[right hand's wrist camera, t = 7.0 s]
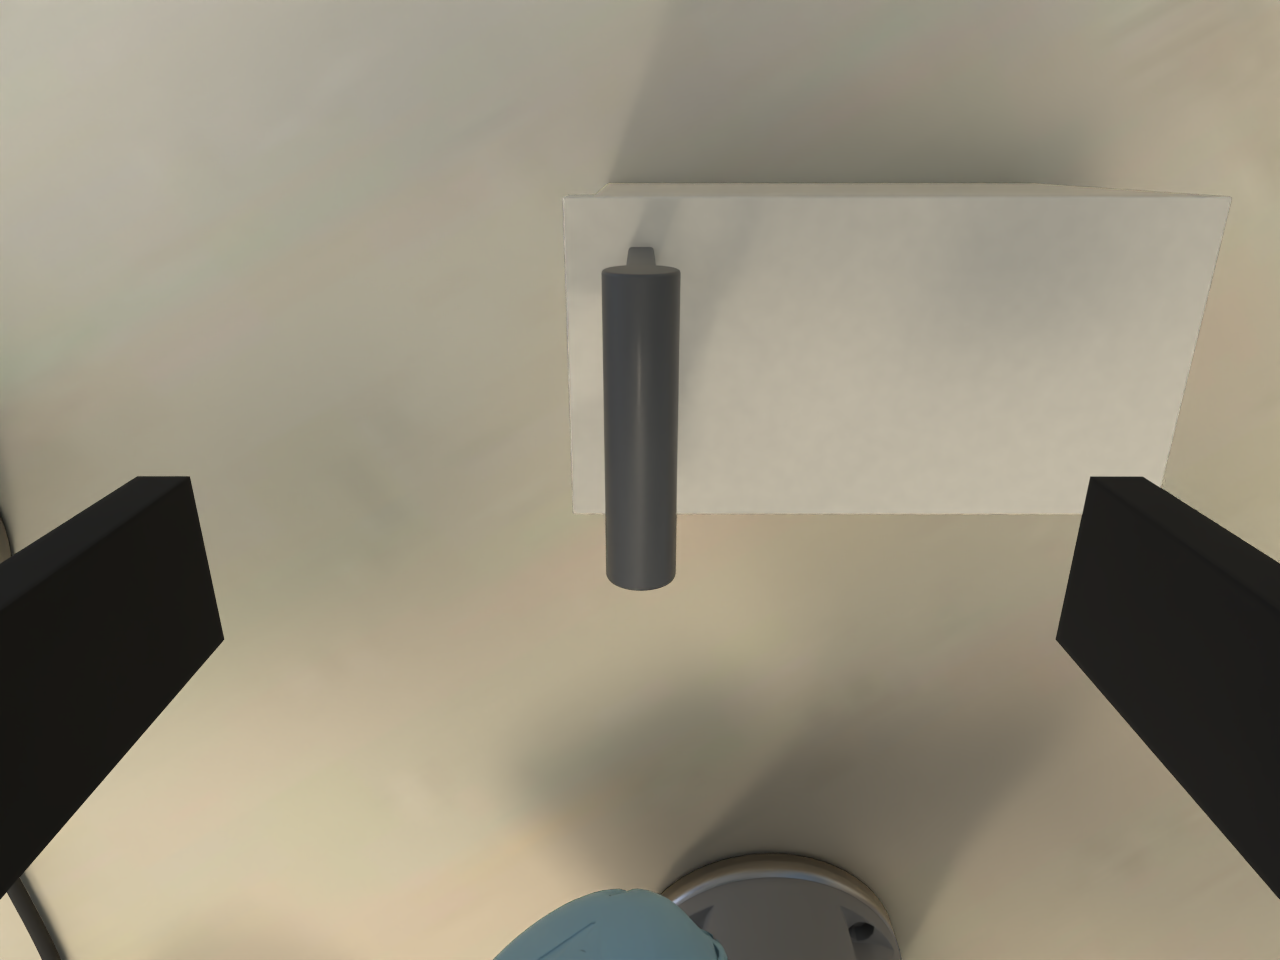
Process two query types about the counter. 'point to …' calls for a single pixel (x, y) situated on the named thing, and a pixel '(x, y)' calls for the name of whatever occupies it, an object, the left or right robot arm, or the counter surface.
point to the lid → (871, 353)
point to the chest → (862, 189)
